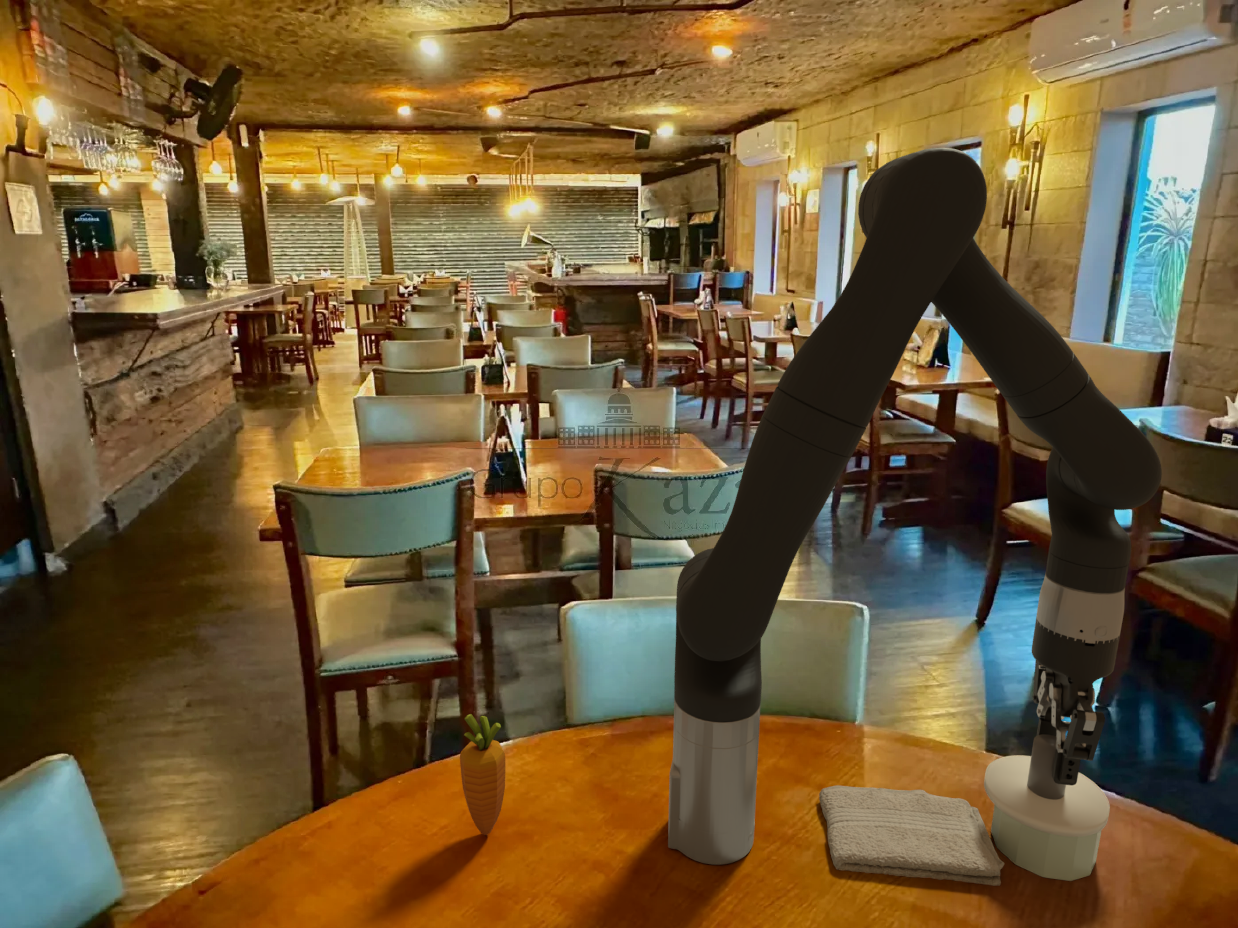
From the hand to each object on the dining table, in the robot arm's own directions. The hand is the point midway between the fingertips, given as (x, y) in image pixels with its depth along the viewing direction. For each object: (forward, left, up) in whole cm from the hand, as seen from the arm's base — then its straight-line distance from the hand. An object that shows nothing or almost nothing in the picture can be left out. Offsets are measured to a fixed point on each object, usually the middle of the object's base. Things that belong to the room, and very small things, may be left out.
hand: (1054, 765), depth 85 cm
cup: (0, 0, -10) cm, 10 cm away
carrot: (-61, -11, -10) cm, 63 cm away
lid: (0, 0, -4) cm, 4 cm away
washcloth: (-15, -2, -11) cm, 18 cm away
